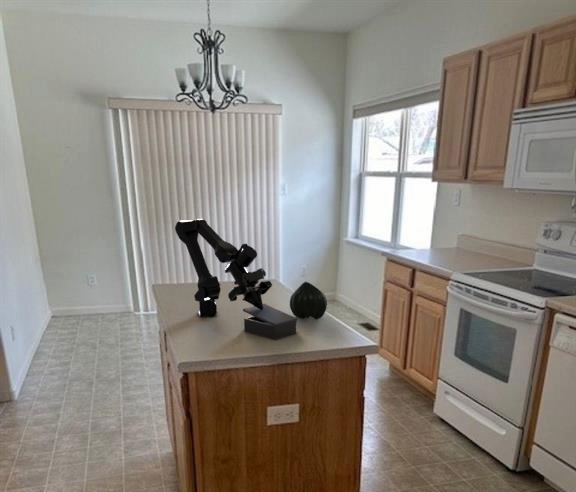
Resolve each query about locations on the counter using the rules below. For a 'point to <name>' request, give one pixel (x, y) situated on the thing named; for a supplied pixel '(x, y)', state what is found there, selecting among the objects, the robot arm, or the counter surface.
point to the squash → (308, 302)
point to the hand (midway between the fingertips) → (262, 309)
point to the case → (268, 328)
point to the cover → (270, 315)
